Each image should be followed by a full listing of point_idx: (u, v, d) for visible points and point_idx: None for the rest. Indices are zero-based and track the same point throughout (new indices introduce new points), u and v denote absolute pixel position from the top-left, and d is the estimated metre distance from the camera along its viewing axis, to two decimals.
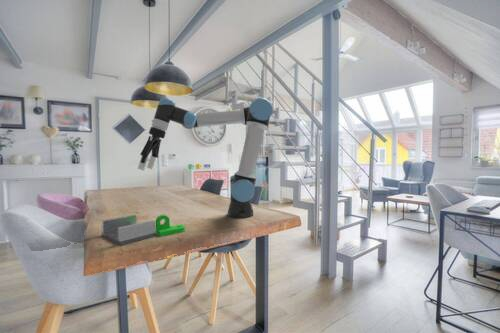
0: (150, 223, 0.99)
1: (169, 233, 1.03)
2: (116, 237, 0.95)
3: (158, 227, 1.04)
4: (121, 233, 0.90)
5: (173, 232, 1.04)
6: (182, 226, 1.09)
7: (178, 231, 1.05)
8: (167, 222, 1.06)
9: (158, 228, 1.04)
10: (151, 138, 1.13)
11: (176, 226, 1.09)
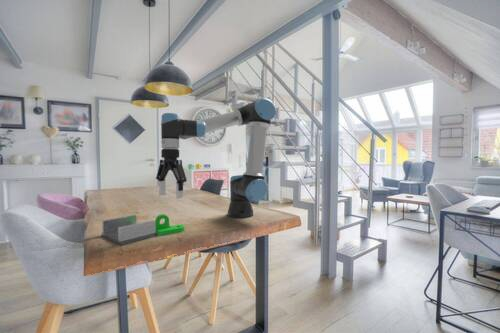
0: (150, 223, 0.99)
1: (168, 233, 1.03)
2: (116, 237, 0.95)
3: (158, 226, 1.05)
4: (121, 233, 0.90)
5: (172, 232, 1.04)
6: (182, 226, 1.09)
7: (177, 231, 1.06)
8: (167, 222, 1.07)
9: (157, 227, 1.05)
10: (179, 161, 1.01)
11: (176, 226, 1.10)
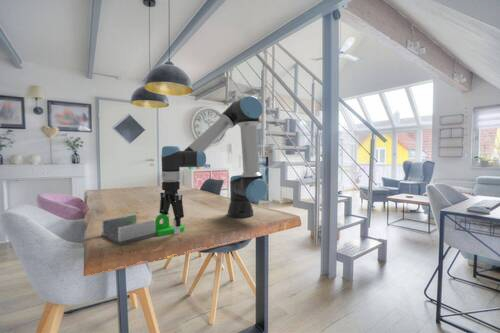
0: (150, 223, 0.99)
1: (167, 233, 1.03)
2: (116, 237, 0.95)
3: (158, 226, 1.05)
4: (121, 233, 0.90)
5: (172, 232, 1.04)
6: (182, 226, 1.09)
7: None
8: (167, 222, 1.07)
9: (157, 227, 1.05)
10: (180, 197, 1.02)
11: None
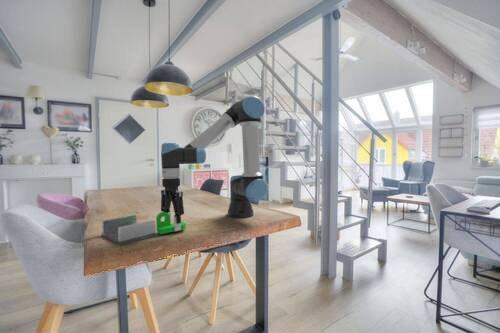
0: (150, 223, 0.99)
1: (169, 230, 1.03)
2: (116, 237, 0.95)
3: (159, 224, 1.04)
4: (121, 233, 0.90)
5: (173, 229, 1.04)
6: (183, 223, 1.09)
7: None
8: (168, 219, 1.06)
9: (158, 225, 1.04)
10: (180, 194, 1.02)
11: None
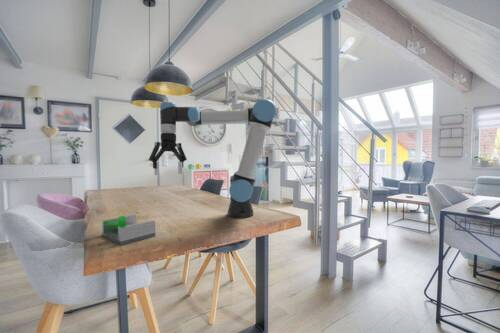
0: (150, 223, 0.99)
1: None
2: (116, 237, 0.95)
3: None
4: (121, 233, 0.90)
5: None
6: (127, 225, 1.05)
7: None
8: None
9: None
10: None
11: None
